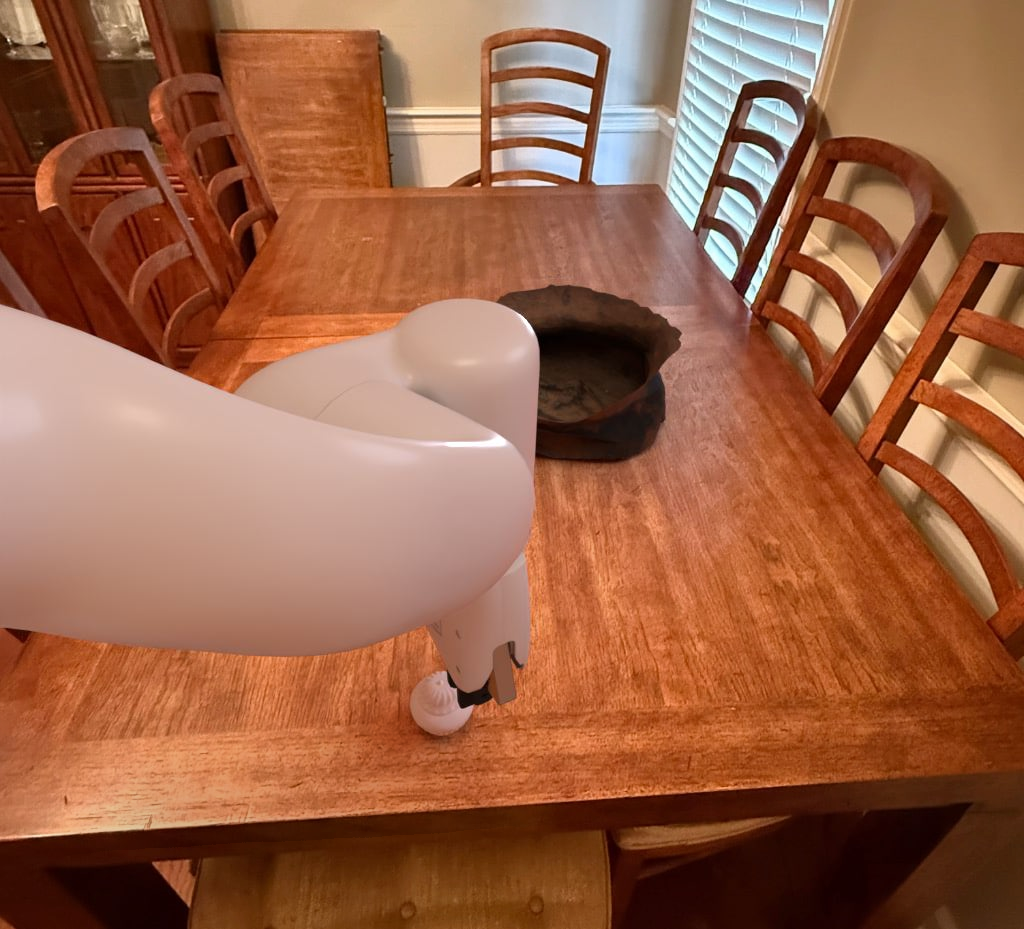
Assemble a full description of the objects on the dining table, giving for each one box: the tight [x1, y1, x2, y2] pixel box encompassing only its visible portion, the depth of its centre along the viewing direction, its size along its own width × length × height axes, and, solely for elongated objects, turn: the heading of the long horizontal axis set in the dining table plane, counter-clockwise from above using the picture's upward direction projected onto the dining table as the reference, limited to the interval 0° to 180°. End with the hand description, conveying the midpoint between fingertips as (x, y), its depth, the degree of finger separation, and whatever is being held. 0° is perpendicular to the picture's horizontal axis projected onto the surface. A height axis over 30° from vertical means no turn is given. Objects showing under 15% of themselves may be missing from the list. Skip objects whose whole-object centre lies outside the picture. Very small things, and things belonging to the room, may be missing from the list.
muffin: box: [409, 670, 474, 737], centre depth 66 cm, size 6×6×7 cm
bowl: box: [495, 283, 683, 461], centre depth 107 cm, size 34×33×15 cm
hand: (473, 687), depth 52 cm, fingers closed
